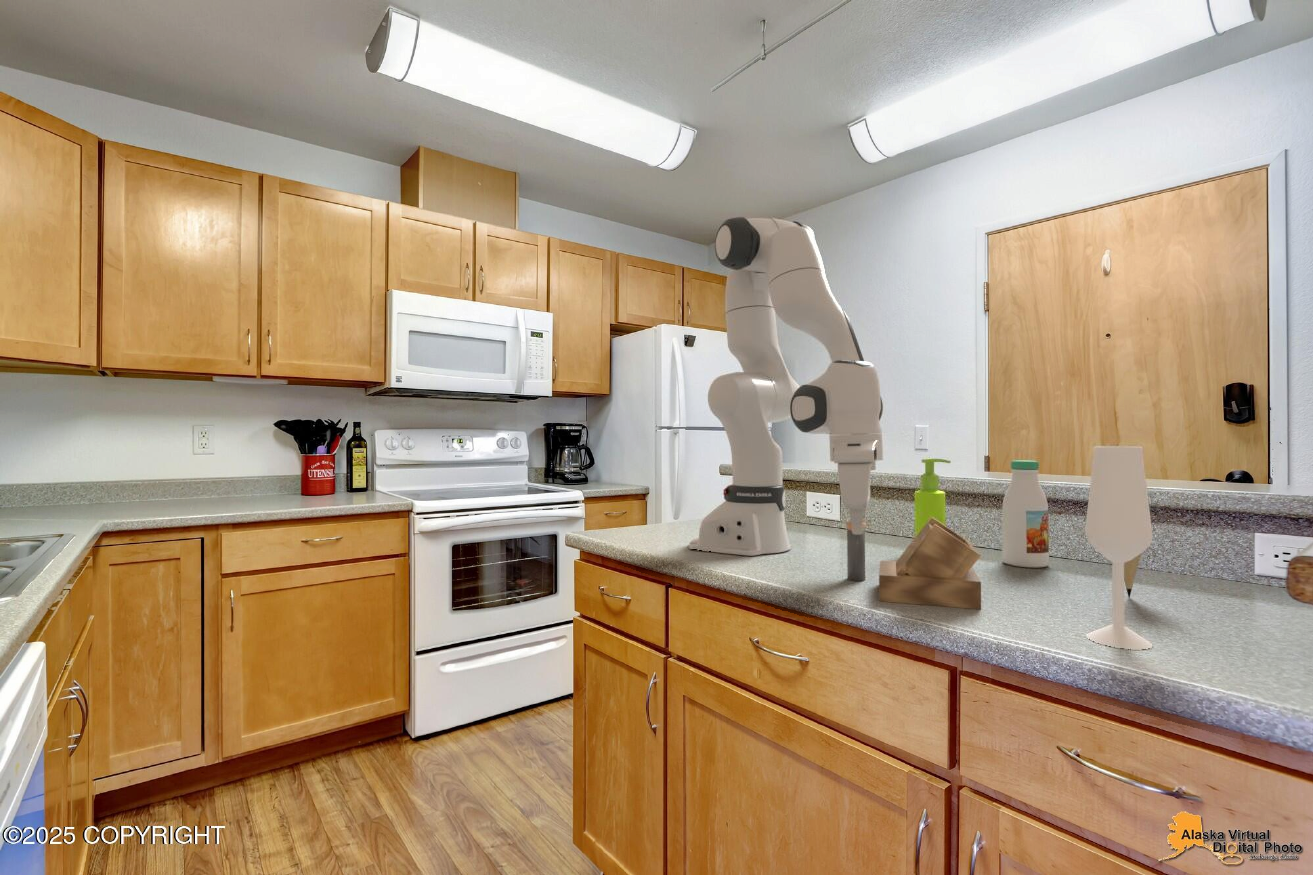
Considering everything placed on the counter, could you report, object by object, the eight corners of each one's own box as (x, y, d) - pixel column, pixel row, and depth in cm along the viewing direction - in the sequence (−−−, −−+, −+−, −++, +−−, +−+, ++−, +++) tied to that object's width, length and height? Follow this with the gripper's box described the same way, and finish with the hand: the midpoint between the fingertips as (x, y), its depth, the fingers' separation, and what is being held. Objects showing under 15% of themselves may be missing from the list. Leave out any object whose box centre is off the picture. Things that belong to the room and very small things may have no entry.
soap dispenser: (954, 557, 127) (953, 459, 126) (918, 556, 128) (917, 459, 128) (946, 552, 132) (946, 458, 132) (912, 551, 134) (911, 458, 133)
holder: (879, 601, 96) (878, 523, 96) (880, 584, 106) (879, 513, 106) (982, 609, 91) (981, 527, 91) (972, 590, 101) (972, 517, 101)
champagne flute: (1093, 628, 82) (1093, 445, 81) (1158, 640, 77) (1158, 446, 76) (1078, 640, 77) (1077, 447, 77) (1146, 654, 72) (1145, 447, 72)
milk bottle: (1009, 567, 117) (1008, 461, 117) (997, 559, 125) (996, 459, 124) (1055, 569, 115) (1055, 461, 115) (1040, 560, 123) (1039, 459, 122)
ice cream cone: (1097, 595, 97) (1097, 499, 97) (1121, 591, 99) (1121, 497, 99) (1136, 604, 92) (1136, 503, 92) (1161, 600, 94) (1161, 501, 94)
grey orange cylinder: (846, 580, 109) (846, 523, 109) (847, 576, 112) (847, 520, 112) (865, 581, 108) (864, 524, 108) (865, 577, 111) (865, 521, 111)
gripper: (841, 450, 120) (844, 522, 120) (832, 452, 101) (835, 538, 101) (876, 449, 118) (879, 522, 117) (873, 451, 99) (876, 539, 98)
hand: (859, 530), depth 109 cm, fingers open, 8 cm apart
